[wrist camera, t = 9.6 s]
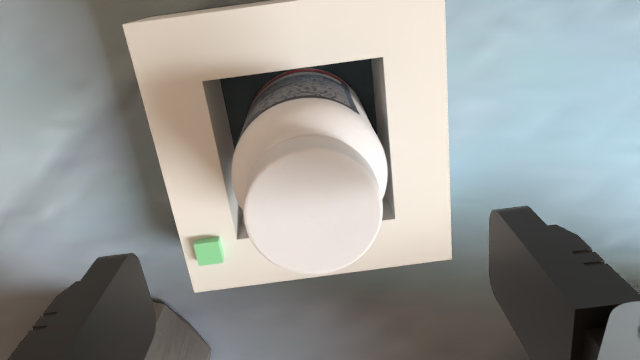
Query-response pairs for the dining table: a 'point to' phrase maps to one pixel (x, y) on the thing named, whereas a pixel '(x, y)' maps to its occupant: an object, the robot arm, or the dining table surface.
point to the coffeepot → (175, 338)
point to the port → (284, 54)
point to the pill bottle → (309, 173)
